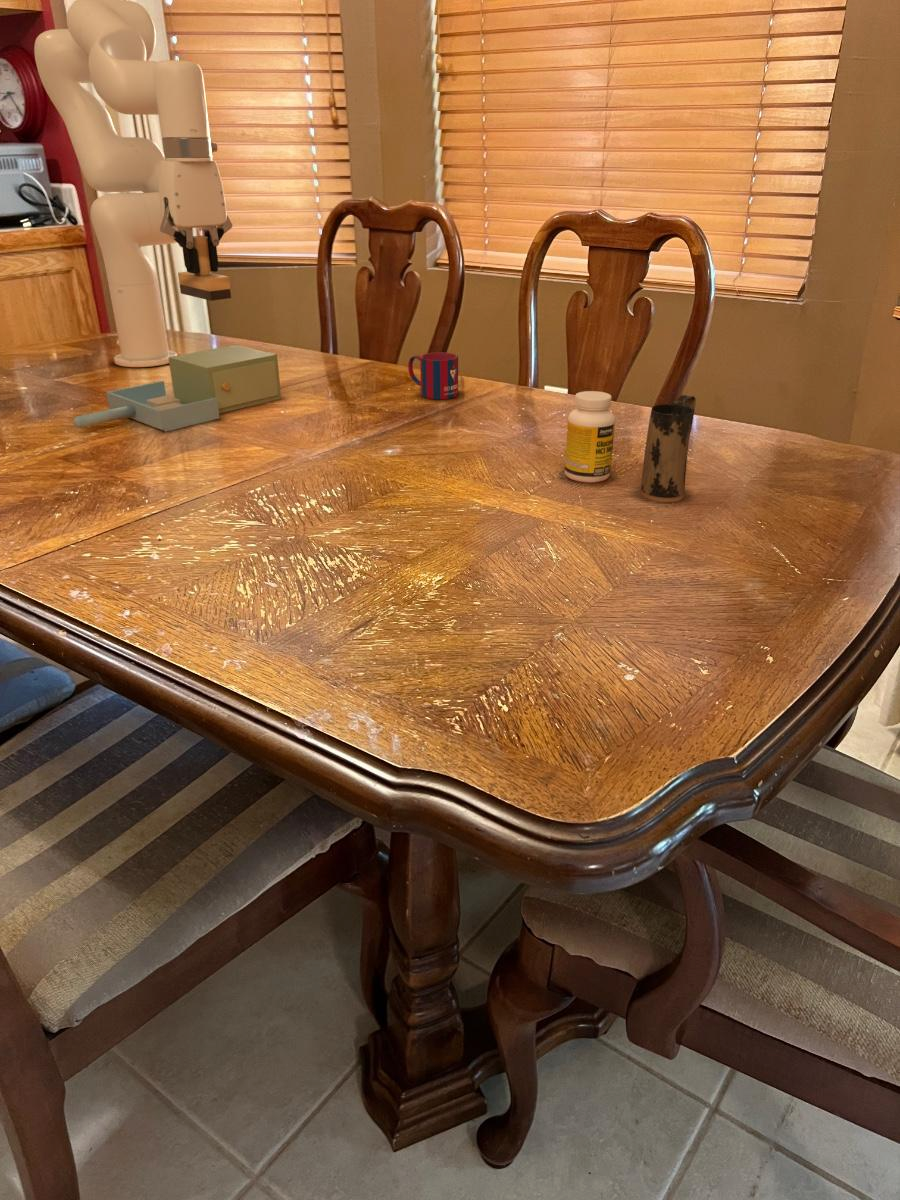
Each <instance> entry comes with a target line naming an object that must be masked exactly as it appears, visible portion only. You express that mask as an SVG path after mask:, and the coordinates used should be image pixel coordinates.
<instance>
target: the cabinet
mask: <svg viewBox="0 0 900 1200" xmlns="http://www.w3.org/2000/svg"><path fill="white" fill-rule="evenodd" d="M168 358H169V363H168V364H169V371H170V377H171V383H172V389H173V390H172V391H173V396H174V397H173V398H176V399H179V400H180V403H182V404H189V403H194V402H198V401H203V400H207V399H212V398H217V403H218V410H219V415H221V414H225V413H228V412H232V411H235V410H241V409H244V408H248V407H249V408H250V407H253V406H257V405H261V404H265V403H270V402H274V401H279V400H282V391H281V390H282V389H281V383H280V381H281V380H280V372H279V370H280V369H279V360H278V354H277V353H273V352H269V351H264V350H260V349H256V348H253V347H248V346H244V345H240V344H233V345H228V346H223V347H217V348H216V347H215V348H212V349H211V348H210V349H207V350H201V351H200V350H199V351H195V352H190V353H184V354H183V353H182V354H177V356H172V357H168Z"/></svg>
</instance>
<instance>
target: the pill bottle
mask: <svg viewBox="0 0 900 1200" xmlns="http://www.w3.org/2000/svg"><path fill="white" fill-rule="evenodd" d="M574 398H575V399H574V406H575V409H573V410H571V412H570V413H569V414H568V415H567V416H568V417H567V424H566V425H567V427H566V442H565V457H564V469H563V470H564V471H563V472H564V475H565V476H566V478H568V479H569V480H572V481H575V482H579V483H587V484H594V483H600V482H603V481H606V480H607V479H608V478H609V477H610V475H611V471H612V470H611V468H612V460H613V459H612V458H613V449H614V438H615V437H614V436H615V428H616V417H615V415H614V413H613V412H612V411H610V410H609V409H610V408H611V406H612V395H611V394H610V393H607V392H604V391H598V390H597V391H594V390H586V391H579V392H576V393H575V396H574Z"/></svg>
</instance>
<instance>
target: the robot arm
mask: <svg viewBox="0 0 900 1200" xmlns="http://www.w3.org/2000/svg"><path fill="white" fill-rule="evenodd" d="M66 26H67V28H54V29H49V30H48V29H47V30H44V31H43V32H42V33H40V34H39V35H38V36H37V37H36V38H35V40H34V41H35V42H34V44H33V45H34V47H33V51H34V53H33V54H34V60H35V64H36V68H37V73H38V76H39V79H40V81H41V84H42V86H43V88H44V90H45V92H46V94H47V96H48V97H49V99H50V101H51V102H52V104H53V106H54V107H55V109H56V110H57V112H58V113H59V115H60V117H61V119H62V121H63V122H64V125H65V128H66V130H67V133H68V137H69V138H70V142H71V144H72V147H73V150H74V154H75V156H76V158H77V161H78V164H79V167H80V170H81V173H82V175H83V177H84V179H85V181H86V183H87V185H88V186H89V187H90V188H92V189H93V190H95V191H96V192H101V193H108V194H103V195H101V196H98V197H97V198H96V199H94V201H92V204H91V207H90V220H91V224H92V227H93V230H94V233H95V236H96V239H97V242H98V245H99V248H100V252H101V255H102V259H103V263H104V268H105V273H106V278H107V282H108V283H107V284H108V289H109V295H110V301H111V307H112V311H113V319H114V323H115V328H116V334H117V340H116V345H117V346H118V347H119V351H120V353H119V354H116V355H115V356H114V357H113V363H114V364H115V365H116V366H120V367H126V368H150V367H151V368H152V367H158V366H163V365H168V364H169V358H168V357H172V356H177V355H178V353H177V352H176V351H174V350H171V349H169V348H170V347H169V342H168V336H167V330H166V329H167V328H166V323H165V317H164V310H163V303H162V296H161V290H160V284H159V278H158V273H157V269H156V267H155V265H154V264H153V262H152V261H151V259H149V257H148V256H146V254H145V253H144V252H143V251H142V250H141V248H142V247H149V246H162V245H163V246H164V245H172V244H176V243H177V245H178V246H179V247H180V248H182V254H183V255H182V256H183V263H184V267H185V268H186V272H189V273H194V274H199V273H200V269H199V261H198V253H197V249H196V248H194V246H193V236H194V231H193V230H194V229H196V228H198V229H199V228H201V231H202V236H207V241H208V249H209V257H210V266H211V272H212V273H213V272H214V273H217V272H218V271H219V268H218V267H219V266H218V265H219V257H218V246H219V245H220V241H221V239H222V238H223V236H224V235H225V234H226V233H227V232H228V231H230V230H232V228H233V223H232V221H231V219H230V217H229V215H228V213H227V212H228V211H227V203H226V197H225V191H224V186H223V181H222V177H221V174H220V169H219V166H218V164H217V161H216V160H213V156H214V153H217V152H218V144H217V142H212V138H211V134H210V132H211V131H210V125H209V116H208V107H207V97H206V88H205V80H204V79H205V78H204V74H203V69H202V68H201V66H200V64H198V63H197V62H194V61H191V60H178V59H166V60H165V59H164V60H159V61H155V60H150V59H151V58H152V56H153V54H154V51H155V50H156V49H155V48H156V42H157V34H156V33H157V31H156V27H155V23H154V21H153V18H152V16H151V14H150V12H149V11H148V10H147V9H146V8H145V7H144V6H143V5H141V4H140V3H138V2H136V1H132V0H75V1H73V2H72V3H71V4H70V6H69V7H68V10H67V12H66ZM83 84H92V85H93V89H94V90H95V92H96V94H97V96H99V98H101V100H102V101H103V102H104V103H105V104H106V105H107V106H109V108H111V109H112V110H114V112H115V111H116V112H117V113H118V114H119V113H120V114H123V115H131V116H133V115H134V116H135V115H137V116H139V115H140V116H142V115H143V116H145V115H147V116H148V115H149V116H153V115H154V116H155V115H157V116H158V121H159V122H158V123H159V129H160V137H161V145H162V149H161V148H160V147H159V146H158V144H157V143H156V142H155V141H153V140H152V139H150V138H146V137H139V136H137V137H136V136H133V137H132V136H121V135H119V134H118V132H117V130H116V128H115V125H114V123H113V120H112V117H111V115H110V113H109V111H108V109H107V108H106V107H105V106H104V105H103V103H101V101H100V100H99V99H98V98H97V97H96V96H95V95H94V94H93V93H91V92H90V91H89V90H87V89H86V88H85V87H84V85H83ZM162 150H163V151H162Z"/></svg>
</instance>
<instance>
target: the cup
mask: <svg viewBox="0 0 900 1200" xmlns="http://www.w3.org/2000/svg"><path fill="white" fill-rule="evenodd" d="M415 359H417V360H418V361H419V365H420V367H419V369H420V371H419V372H420V379H418V378H417V376H416V374H415V373H414V367H413V364H414V361H415ZM407 367H408V374H409V377H410V378H411V380H412V381H413V382H414V383H415V384H416V385H418V386H419V387H420V395H421V397H423V398H425V399H428V400H448V399H453V398H456V397H457V396H459V355H458V354H455V353H451V352H441V351H439V352H426V353H423V354H421V355H413V356H411V357H410V358H409V360H408V365H407Z"/></svg>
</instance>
